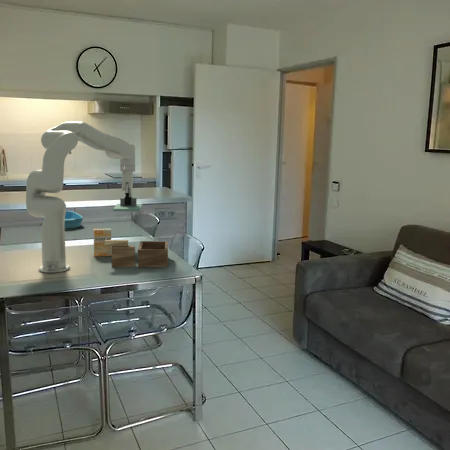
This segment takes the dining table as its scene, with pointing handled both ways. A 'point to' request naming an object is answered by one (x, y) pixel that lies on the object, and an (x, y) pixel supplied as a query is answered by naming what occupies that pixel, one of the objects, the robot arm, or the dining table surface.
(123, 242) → the tan wooden bar
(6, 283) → the dining table surface
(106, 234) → the supplement box
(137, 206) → the lid
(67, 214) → the casserole dish
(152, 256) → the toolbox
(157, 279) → the dining table surface
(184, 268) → the dining table surface
